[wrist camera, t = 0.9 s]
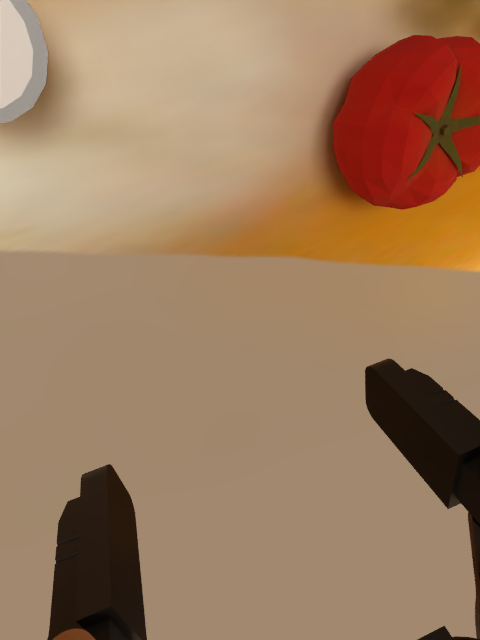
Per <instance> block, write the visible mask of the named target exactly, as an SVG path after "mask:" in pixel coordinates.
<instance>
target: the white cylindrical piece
mask: <svg viewBox="0 0 480 640" xmlns="http://www.w3.org/2000/svg"><path fill="white" fill-rule="evenodd" d="M47 63H48V50H47V46H46V43H45V39H44V36H43V33H42V29H41V26H40V22H39V19H38V17H37V15H36V13H35V12H34V10H33V9H32V7H31V6H30V4H29V3H28V1H27V0H0V123H6V122H11V121H13V120H14V119H16V118H17V117H19V116H21V115H22V114H24V113H25V112H27V111H28V110H30V109H31V108H33V106H34V105H35V103H36V101H37V99H38V97H39V95H40V94H41V92H42V90H43V88H44V86H45V85H46V78H47Z"/></svg>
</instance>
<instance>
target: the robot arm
mask: <svg viewBox="0 0 480 640" xmlns="http://www.w3.org/2000/svg"><path fill="white" fill-rule="evenodd" d="M365 387H366V389H365V390H366V405H367V408H368V411H369V413H370V415H371V416H372V418H373V419H374V421H375V422H376V423H377V424H378V425H379V426H380V428H381V429H382V430H383V431H384V433H385V434H386V435H387V436H388V437H389V438H390V440H391V441H392V442H393V443H394V445H395V446H396V447H397V448H398V449H399V451H400V452H401V453H402V454H403V455H404V457H405V458H406V459H407V460H408V461H409V463H410V464H411V465H412V466H413V467H414V469H415V470H416V471H417V472H418V473H419V474H420V476H421V477H422V478H423V479H424V481H425V482H426V483H427V484H428V485H429V487H430V488H431V489H432V490H433V491H434V492H435V494H436V495H437V496H438V497H439V499H440V500H441V501H442V502H443V503H444V505H445V506H446V507H447V508H448V509H449V508H451V507H453V506H456V505H458V504H460V503H461V504H462V505H463V506H464V507H465V508H466V509H467V511H468V523H469V531H470V541H471V549H472V559H473V568H474V575H475V585H476V602H475V625H476V635H477V639H475V638H470V637H451V635H450V634H449V632H448V631H447V629H446V628H445V626H443V627H441V628H439V629H437V630H435V631H433V632H431V633H429V634H428V635H426V636H424V637H422V638H420V639H418V640H480V420H479V419H478V418H477V417H475V416H474V415H473V414H472V413H471V412H470V411H469V410H467V409H466V408H465V407H464V406H463V405H462V404H460V403H459V402H458V401H457V400H454V398H453V396H451V395H450V394H449V393H448V392H447V391H446V390H445V391H444V390H443V388H442V387H441V386H440V385H439V384H438V383H437V382H435V381H434V380H433V379H432V378H431V377H429V376H428V375H425V374H423V373H421V372H419V371H417V370H414V369H412V368H411V369H409V370H406V371H405V370H404V369H403V368H401V367H400V366H399V365H398V364H397V363H396V362H395V361H394V360H392V359H386V360H383V361H381V362H378V363H376V364H373V365H371V366H368V367H366V370H365ZM57 545H58V546H57V547H56V558H55V560H56V564H55V571H54V582H53V595H52V605H51V618H50V629H49V636H48V640H147V637H146V628H145V616H144V605H143V594H142V583H141V572H140V561H139V550H138V539H137V529H136V518H135V511H134V506H133V503H132V500H131V497H130V495H129V493H128V491H127V490H126V488H125V486H124V485H123V483H122V481H121V480H120V478H119V476H118V475H117V473H116V472H115V470H114V468H113V467H112V466H111V465H110V464H109V465H106V466H103V467H101V468H98V469H95V470H93V471H90V472H88V473H85V474H83V475H82V477H81V493H80V497H78V498H76V499H73V500H70V501H68V502H67V505H66V507H65V509H64V511H63V513H62V516H61V518H60V520H59V523H58V535H57Z"/></svg>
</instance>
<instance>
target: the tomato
mask: <svg viewBox="0 0 480 640" xmlns="http://www.w3.org/2000/svg"><path fill="white" fill-rule="evenodd" d="M333 147H334V151H335V155H336V159H337V163H338V166H339V168H340V170H341V172H342V174H343V176H344V178H345V179H346V181H347V183H348V185H349V187H350V189H351V190H353V191H354V192H355V193H357V194H358V195H359V196H360V197H362V198H363V199H365V200H366V201H368V202H369V203H371V204H372V205H375V206H383V207H391V208H397V209H407V208H412V207H417V206H420V205H423V204H426V203H429V202H432V201H434V200H436V199H437V198H439V197H440V196H442V195H443V194H445V193H446V192H447V190H448V189H449V188H450V187H451V186H452V185H453V183H454V182H455V181H456V178H457V177H459V176H462V175H465V174H467V173H470V172H473V171H475V170H476V169H477V168H478V167H479V166H480V44H479V43H478V42H477V41H476V40H474V39H473V38H472V37H460V36H455V37H447V38H439V39H436V38H434V37H432V36H421V35H413V36H411V37H408V38H405V39H402V40H400V41H398V42H396V43H395V44H393V45H391V46H390V47H388V48H386V49H385V50H383V51H381V52H380V53H378V54H376V55H375V56H374V57H373V58H372V59H371V60H370V61H369V62H368V63H367V64H366V65H365V66H364V67H363V68H362V69H361V70H360V71H359V72H358V73H357V74H356V75H355V76H354V77H353V78H352V79H351V82H350V86H349V89H348V93H347V97H346V101H345V103H344V105H343V106H342V108H341V110H340V112H339V113H338V115H337V117H336V119H335V120H334V130H333ZM462 177H463V176H462Z"/></svg>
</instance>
